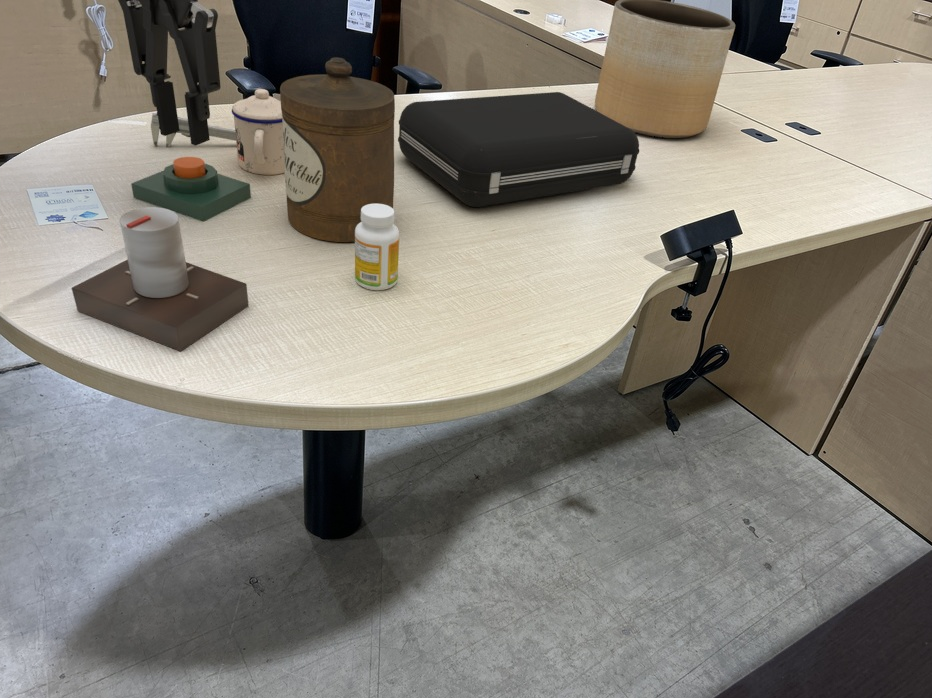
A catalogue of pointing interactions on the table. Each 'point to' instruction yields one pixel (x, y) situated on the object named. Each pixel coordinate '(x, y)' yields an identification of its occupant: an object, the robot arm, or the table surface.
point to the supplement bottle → (376, 248)
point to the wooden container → (336, 150)
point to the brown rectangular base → (162, 305)
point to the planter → (662, 67)
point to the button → (189, 167)
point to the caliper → (184, 131)
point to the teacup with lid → (259, 134)
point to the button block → (192, 192)
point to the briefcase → (516, 146)
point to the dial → (155, 251)
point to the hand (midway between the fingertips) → (185, 137)
